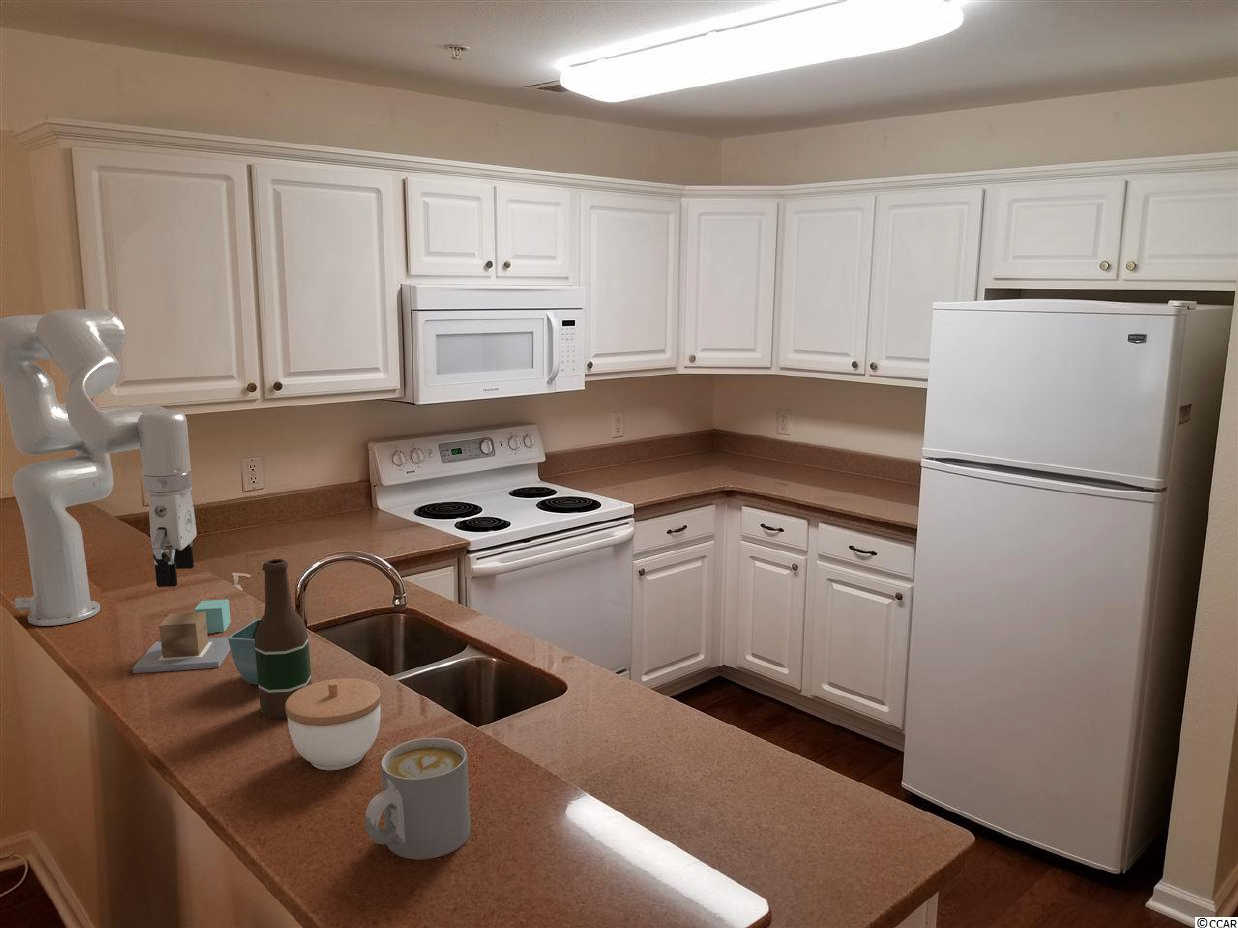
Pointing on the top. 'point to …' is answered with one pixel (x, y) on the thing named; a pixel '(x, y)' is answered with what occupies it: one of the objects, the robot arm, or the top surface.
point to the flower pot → (245, 651)
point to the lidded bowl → (334, 721)
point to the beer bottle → (280, 644)
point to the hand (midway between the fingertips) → (176, 576)
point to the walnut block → (183, 634)
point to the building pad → (184, 658)
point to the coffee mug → (422, 799)
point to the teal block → (215, 614)
